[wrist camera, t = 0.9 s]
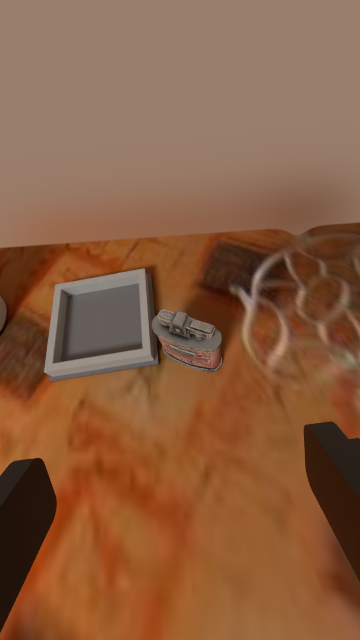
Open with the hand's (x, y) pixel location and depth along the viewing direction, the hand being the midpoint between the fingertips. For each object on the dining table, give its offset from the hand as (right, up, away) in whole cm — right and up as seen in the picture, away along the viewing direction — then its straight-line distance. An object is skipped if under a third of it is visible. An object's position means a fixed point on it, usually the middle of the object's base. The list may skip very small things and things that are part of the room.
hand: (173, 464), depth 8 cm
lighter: (+2, 0, +28) cm, 28 cm away
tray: (-11, +4, +32) cm, 34 cm away
